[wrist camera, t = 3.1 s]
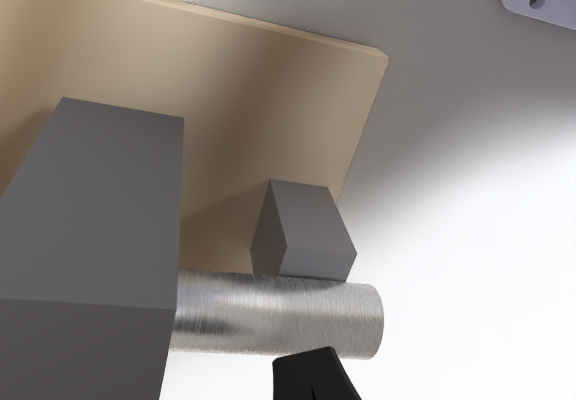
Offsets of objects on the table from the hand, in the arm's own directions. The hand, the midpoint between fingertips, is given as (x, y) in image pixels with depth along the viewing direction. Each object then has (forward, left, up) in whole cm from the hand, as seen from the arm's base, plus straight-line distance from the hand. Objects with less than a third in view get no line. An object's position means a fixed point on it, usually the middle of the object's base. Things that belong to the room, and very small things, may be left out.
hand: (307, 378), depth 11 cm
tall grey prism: (+5, 0, -5) cm, 7 cm away
